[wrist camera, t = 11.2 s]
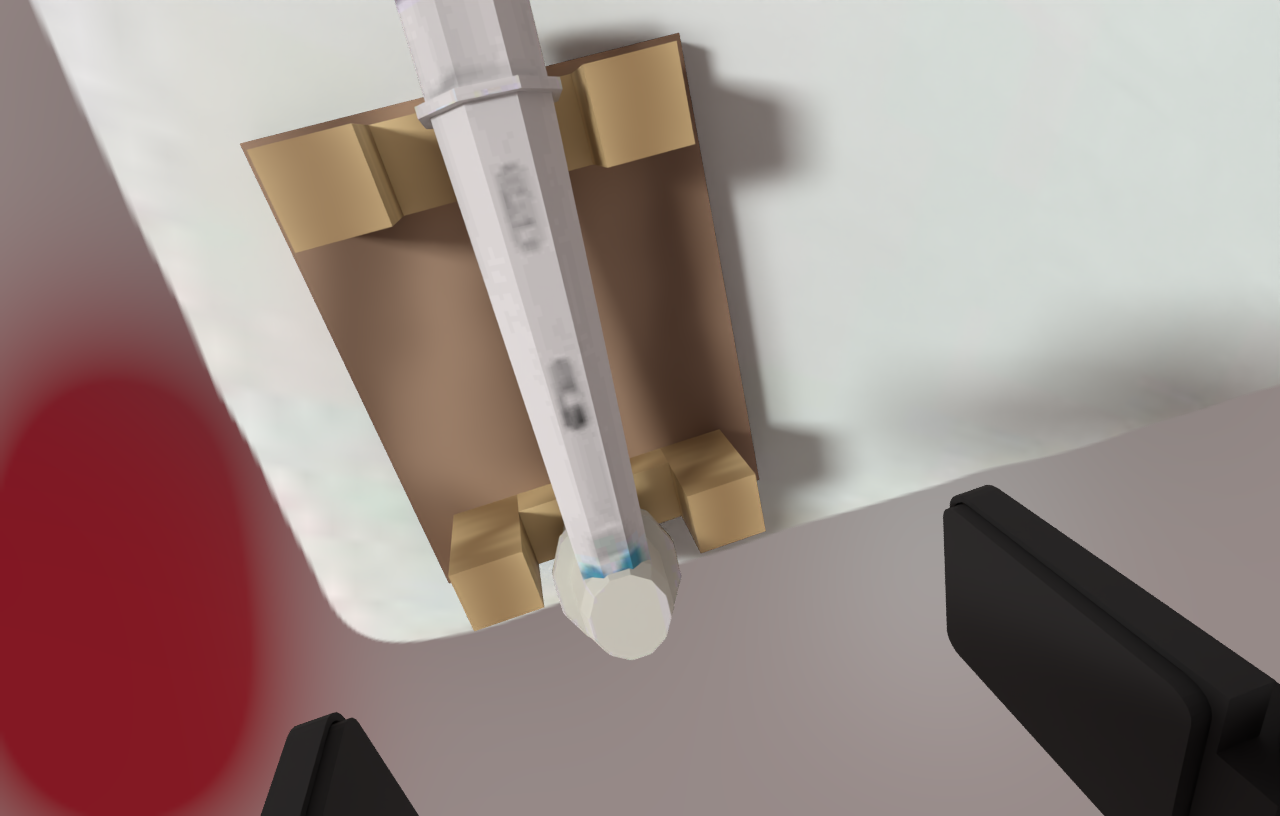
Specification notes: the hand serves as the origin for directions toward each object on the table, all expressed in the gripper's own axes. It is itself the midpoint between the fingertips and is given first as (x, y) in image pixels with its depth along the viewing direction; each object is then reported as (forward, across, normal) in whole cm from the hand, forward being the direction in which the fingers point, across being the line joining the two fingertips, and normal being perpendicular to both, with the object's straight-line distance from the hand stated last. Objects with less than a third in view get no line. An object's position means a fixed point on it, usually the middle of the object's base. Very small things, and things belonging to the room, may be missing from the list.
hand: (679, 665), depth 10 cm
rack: (+20, +1, 0) cm, 20 cm away
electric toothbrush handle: (+18, 0, 0) cm, 18 cm away
